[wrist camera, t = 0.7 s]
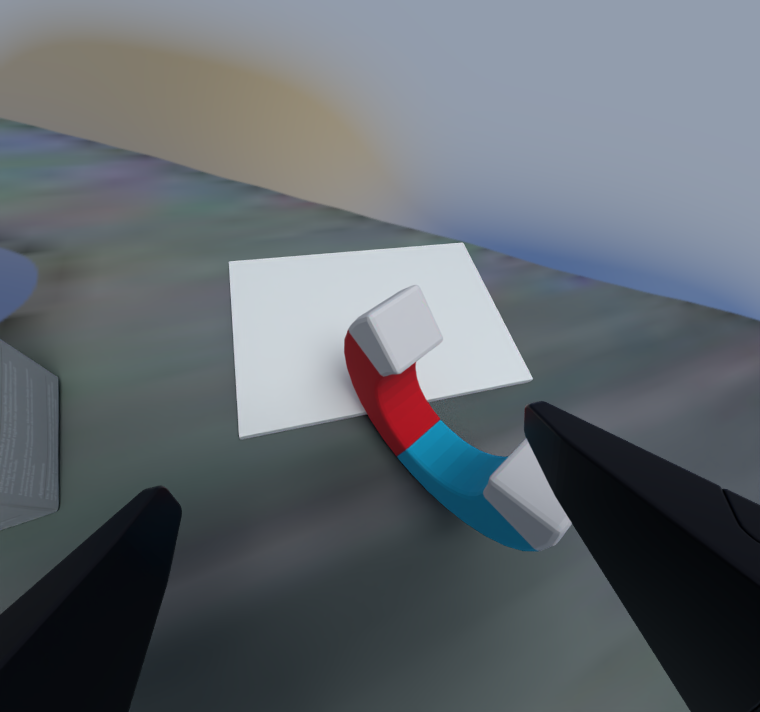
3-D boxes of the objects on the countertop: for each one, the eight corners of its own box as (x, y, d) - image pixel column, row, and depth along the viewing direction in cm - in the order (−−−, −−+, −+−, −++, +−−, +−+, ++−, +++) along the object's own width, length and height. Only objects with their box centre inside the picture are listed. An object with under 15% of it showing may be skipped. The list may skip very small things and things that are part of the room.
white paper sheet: (529, 381, 25) (532, 379, 24) (241, 439, 20) (239, 437, 19) (461, 246, 31) (463, 242, 30) (230, 266, 26) (228, 261, 26)
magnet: (493, 506, 20) (632, 503, 11) (463, 540, 19) (588, 568, 10) (369, 360, 23) (400, 263, 14) (337, 384, 22) (347, 295, 13)
